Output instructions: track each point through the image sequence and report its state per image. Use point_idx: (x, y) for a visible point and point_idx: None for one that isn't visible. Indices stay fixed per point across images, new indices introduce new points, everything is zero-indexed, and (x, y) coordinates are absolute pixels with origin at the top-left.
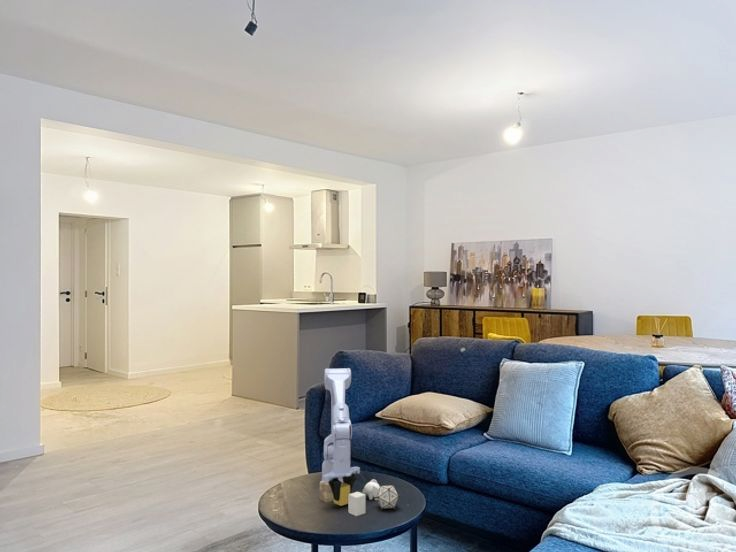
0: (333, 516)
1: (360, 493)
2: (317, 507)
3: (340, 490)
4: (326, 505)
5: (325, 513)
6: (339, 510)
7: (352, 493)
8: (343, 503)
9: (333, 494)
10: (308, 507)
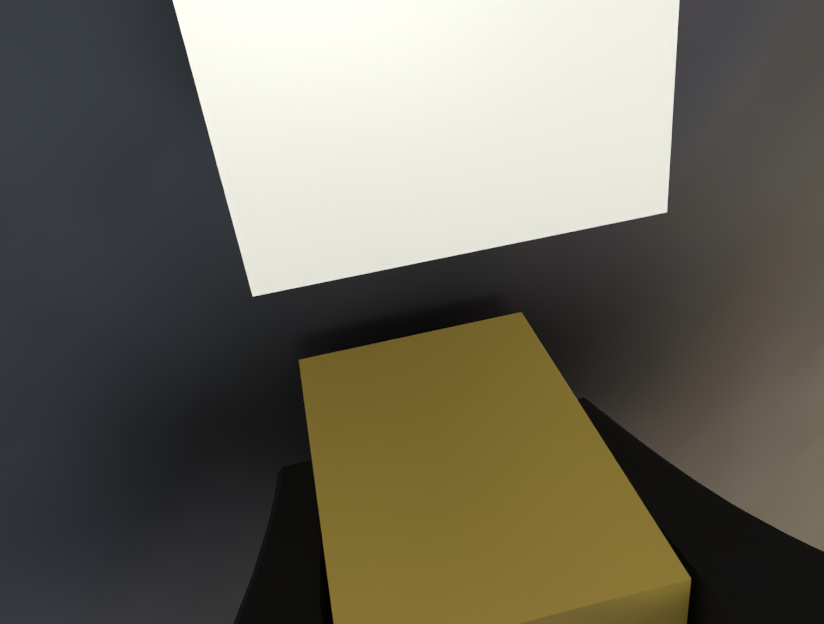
0: (808, 51)
1: (252, 66)
2: (724, 466)
3: (650, 531)
4: None
5: (801, 236)
6: (558, 240)
7: (510, 220)
8: (464, 342)
9: None
10: (800, 503)
